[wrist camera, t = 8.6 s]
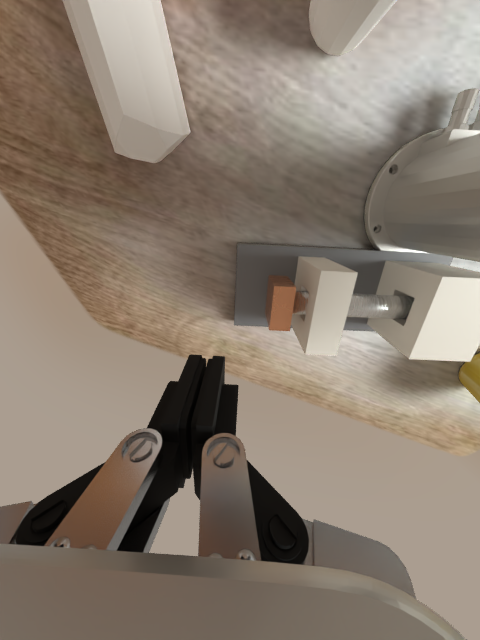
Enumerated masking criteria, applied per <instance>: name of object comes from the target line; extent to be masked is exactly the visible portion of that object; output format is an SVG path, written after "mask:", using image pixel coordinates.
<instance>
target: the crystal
mask: <svg viewBox="0 0 480 640" xmlns="http://www.w3.org/2000/svg"><path fill="white" fill-rule="evenodd" d="M62 1H63V4H64V6H65V9H66V12H67V15H68V18H69V21H70V24H71V27H72V30H73V32H74V35H75V38H76V41H77V44H78V47H79V50H80V53H81V56H82V58H83V61H84V64H85V67H86V70H87V73H88V76H89V79H90V82H91V85H92V87H93V90H94V93H95V96H96V99H97V102H98V105H99V108H100V111H101V113H102V116H103V119H104V122H105V125H106V128H107V131H108V134H109V137H110V139H111V142H112V145H113V148H114V151H115V153H117V154H120V155H123V156H125V157H128V158H131V159H136V160H141V161H146V162H151V163H157V162H160V161H161V160H162V159H164V158H165V157H166V156H167V155H168V154H169V153H171V152H172V151H173V150H174V149H175V148H176V147H177V146H178V145H179V144H180V143H181V142H182V141H183V140H184V139H185V138H186V137H187V136H188V135H189V134H190V133H191V131H190V127H189V123H188V118H187V114H186V109H185V105H184V101H183V96H182V92H181V88H180V83H179V79H178V74H177V70H176V66H175V61H174V57H173V52H172V48H171V44H170V39H169V35H168V30H167V26H166V22H165V17H164V13H163V9H162V4H161V0H62ZM135 119H136V120H135ZM144 123H145V124H144ZM151 126H152V127H151ZM153 127H154V128H153ZM159 129H160V130H159ZM163 130H164V131H163ZM167 131H168V132H167ZM171 132H172V133H171ZM175 133H176V134H175Z"/></svg>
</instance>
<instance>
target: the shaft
mask: <svg viewBox="0 0 480 640" xmlns="http://www.w3.org/2000/svg"><path fill="white" fill-rule="evenodd" d="M308 298H309V292H308V291H296V286H295V285H294V284H293V282H292V281H291V280H290V279H289V277H288V276H277V275H269V278H268V288H267V298H266V308H265V315H266V319H267V323H268V327H269V330H277V331H290V326H291V320H292V314H301V315H306V309H307V304H308ZM414 299H415V298H414V297H411V296H398V295H377V294H356V293H353V294H352V298H351V302H350V305H349V309H348V313H347V317H367V318H389V319H407V317H408V315H409V312H410V309H411V307H412V304H413V301H414Z"/></svg>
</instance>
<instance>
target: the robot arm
mask: <svg viewBox="0 0 480 640" xmlns="http://www.w3.org/2000/svg"><path fill="white" fill-rule="evenodd" d="M478 93H479V89H468V90H464V91H462V92H460V93H459V94H458V95H457V98H456V101H455V104H454V107H453V110H452V115H451V118H450V121H449V125H448V127H446V128H444V129H438V130H435V131H432V132H430V133H427V134H424V135H422V136H420V137H418V138H416V139H414V140H412V141H411V142H409V143H408V144H406V145H404V146H403V147H401V148H400V149H399V150H398V151H397V152H396V153H395V154H394V155H393V156H391V157H390V158H389V160H388V161H387V162H386V163H385V165H384V166H383V167H382V168H381V170H380V171H379V173H378V175H377V176H376V178H375V180H374V181H373V183H372V186H371V188H370V191H369V193H368V196H367V201H366V205H365V214H364V222H365V230H366V233H367V236H368V239H369V241H370V242H371V244H372V246H373V247H374V248H375V249H376V250H379V251H395V252H415V253H433V254H438V255H444V256H450V257H455V258H461V259H466V260H472V261H478V262H480V108H479V111H478V114H477V116H476V119H475V122H474V123H473V124H470V125H467V124H466V123H467V121H468V118H469V115H470V112H471V111H472V109H473V107H474V104H475V101H476V98H477V95H478ZM479 107H480V105H479ZM389 169H390V173H389ZM374 227H375V230H374V231H373V229H374ZM224 374H225V357H224V356H213V359H208V363H207V367H206V359H205V358H202V355H189V357H188V360H187V362H186V365H185V367H184V369H183V372H182V374H181V376H180V379H179V381H178V382H177V381H176V382H175V381H170V382H169V383H168V385H167V387H166V389H165V391H164V393H163V396H162V397H161V400H160V402H159V404H158V406H157V408H156V410H155V412H154V414H153V416H152V418H151V421H150V422H149V425H148V427H147V428H144V429H139V430H136V431H134V432H132V433H130V434H129V435H127V436H126V437H125V438H124V439H123V440H122V441H121V442H120V444H119V445H118V446H117V448H116V449H115V451H114V452H113V453H112V454H111V456H110V457H109V459H108V460H107V461H106V462H105V463H103V464H101V465H100V466H98V467H96V468H94V469H93V470H91V471H89V472H88V473H86V474H84V475H83V476H81V477H79V478H78V479H76V480H74V481H72V482H71V483H69V484H67V485H66V486H64V487H62V488H61V489H59V490H57V491H56V492H54V493H52V494H51V495H49V496H47V497H46V498H44V499H43V500H41V501H40V502H39V503H37V504H33V503H32V501H29V502H23V503H18V504H13V505H7V506H2V507H0V640H466V639H465V638H464V637H463V636H462V634H460V632H459V631H458V630H456V629H455V628H454V627H453V626H452V625H451V624H450V623H449V622H447V621H446V620H445V619H444V618H443V617H441V616H440V615H439V614H437V613H436V612H435V611H433V610H432V609H430V608H429V607H428V606H427V605H425V604H423V603H422V602H420V601H419V600H417V599H416V597H415V593H414V590H413V586H412V582H411V579H410V577H409V574H408V572H407V570H406V567H405V566H404V564H403V563H402V561H401V560H400V559H399V557H398V556H397V555H396V554H395V553H394V552H393V551H392V550H391V549H390V548H389V547H387V546H386V545H384V544H382V543H380V542H378V541H375V540H373V539H370V538H367V537H363V536H360V535H358V534H355V533H352V532H349V531H346V530H343V529H341V528H338V527H335V526H332V525H329V524H326V523H323V522H320V521H317V520H314V521H313V522H310V521H308V520H305V519H302V518H301V517H300V516H299V514H298V513H297V512H296V511H295V510H294V509H293V508H292V507H291V506H290V505H289V503H288V502H287V501H286V500H285V499H284V498H283V497H282V496H281V495H280V494H279V493H278V492H277V491H276V490H275V489H274V488H273V487H272V486H271V485H270V484H269V483H268V482H267V480H266V479H265V478H264V477H262V475H261V474H260V473H259V472H258V471H257V470H256V469H255V468H254V467H253V466H252V465H251V464H250V463H249V462H248V461H247V460H246V454H245V449H244V445H243V443H242V442H241V440H240V439H239V438H237V437H236V417H237V402H238V385H229V384H227V385H226V384H224ZM192 469H193V472H194V473H193V474H194V484H195V485H194V486H195V494H196V495H197V497H198V498H199V500H200V522H199V549H198V556H184V555H169V554H155V553H149V551H150V549H151V546H152V544H153V541H154V539H155V536H156V534H157V532H158V529H159V527H160V524H161V522H162V519H163V517H164V514H165V512H166V510H167V507H168V504H169V501H170V497H171V496H173V495H174V494H175V493H176V492H178V488H183V487H184V483H185V479H186V478H187V479H190V477H191V474H192Z"/></svg>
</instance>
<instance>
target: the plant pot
mask: <svg viewBox="0 0 480 640" xmlns="http://www.w3.org/2000/svg"><path fill="white" fill-rule="evenodd" d="M459 380H460V382H461V383H462V384H463V385H464V386H465V387H466V389H467V390H468V391H469V392H470V393H471V394H472V395H473V396H474V397H475V398H476V399H477V400H478V402H479V403H480V353H478V354H476V355H474V356H473V358H472V360H471V361H470V362H465V363H464V364H463V365H462V367H461V369H460V371H459Z"/></svg>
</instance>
